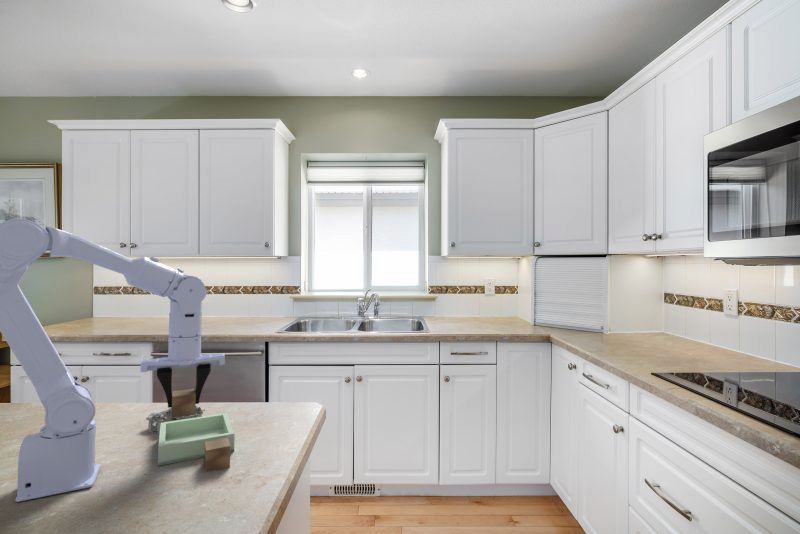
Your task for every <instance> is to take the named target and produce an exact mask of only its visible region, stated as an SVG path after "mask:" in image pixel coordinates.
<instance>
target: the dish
mask: <svg viewBox="0 0 800 534" xmlns="http://www.w3.org/2000/svg"><path fill="white" fill-rule="evenodd" d="M158 438H159V439H158V447H157V448H158V450H157V467H160V466H164V465H171V464H176V463H181V462H186V461H190V460H196V459H201V458H204V455H205V442H207V441H213V440H219V439H224V438H228V440H229V443H230V453H232V452H235V431H234V428H233V425H232V423H231V419H230V417H229V413H228V412H225V413H224V412H222V413H219V414H218V413H217V414H211V415H210V414H209V415H204V416H202V417H196V418H190V419H183V420H176V421H170V422H163V423H161V425H160V434H159V437H158Z"/></svg>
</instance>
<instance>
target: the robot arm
mask: <svg viewBox="0 0 800 534" xmlns="http://www.w3.org/2000/svg"><path fill="white" fill-rule="evenodd" d="M46 251H48V252H49V251H50V252H49V258H67V257H69V258H70V257H71V258H75V259H78V260H81V261H84V262H87V263H89V264H92V265H94V266H98V267H100V268H103V269H107V270H108V271H113V272H115V273H118V274H122V275H123V276H124V278H125V280H126V283H127V285H129V286H132V287H134V288H136V289H140V290H143V291H145V292H148V293H151V294H152V295H157V296H158V297H161V298H166V297H167V298H168V299H169V301H170V302H169V304H170V305H169V315H168V316H169V317H168V318H169V319H168V345H167V346H168V348H167V349H168V351H167V353H168V354H167V355H168V356H167V357H165V356H164V357H159V358H157V357H156V358H152V359H150V358H149V359H141V361H140V373H147V372H152V371H156V377H157V378H158V381H159V382H160V384H161V386H162V389H163V391H164V394H165V397H166V402H167V408H168V409H170V408H172V391H173V389H172V388H173V387H172V386H173V385H172V383H173V369H185V368H194V367H195V369H196V370H195V371H196V373H195V380H196V381H195V388H194V389H195V392H196V403H195V405H197V404H198V405H199V403H200V398H201V394H202V391H203V388H204V385H205V383H206V381H207V379H208V377H209V376H210V374H211V370H212V368H211V366H217V365H219V366H223V365H224V366H225V363H226V355H225V353H211V354H208V353H206V354H202V326H203V325H202V321H203V317H202V316H203V312H202V310H203V309H202V302H203V301H204V299H205V298H206V296H207V294H208V293H207V292H208V290H207V289H206V286H205V283H204V282H203V281H202V280H201V278H199V277H197V276H194V275H189V274H185V273H184V272H185V270H183V269H181V268H177V269H175V268H173V267H170V266H168V265H165V264H164V263H160V262H159V261H160V259H159V258H157V257H154V256H150V257H147V256H141V257H138V258H133V259H132V258H130V257H127V256H125V255H123V254H121V253H118V252H116V251H113V250H111V249H109V248H108V247H104V246H103V245H100V244H97V243H95V242H94V241H91V240H88V239H87V238H84V237H82V236H79V235H77V234H76V233H75V234H74V233H71V232H68V231H65V230H61V229H59V228H56V227H52V226H48V225H45V226H44V227H43V226H42V225H41V224H39V223H37V222H36V221H33V220H29V219H25V218H12V219H8V220H5V221H2V222H1V223H0V333H1V335H2V338H4V340H5V341H6V343H7V345H8V347H9V348H10V350H11V352H12V353H13V354H14V356H15V357H16V360H17V362H19V364H20V366H21V368H22V370H24V372H25V374H26V375H27V377H28V379H29V380H30V382H31V383H32V385H33V387H34V389H35V391H36V394H37V396H38V398H39V401H40V403H41V404H42V406H43V409H44V411H45V412H44V426H43V427H41V428H40V431H39V432H37V433H36V432H35V433H32V434H28V435H25V436H24V437H23V440H22V442H21V444H20V447H19V448H20V449H19V453H18V461H17V462H18V463H17V464H18V465H17V486H16V488H17V490H16V491H17V492H16V497H15V502H18V503H19V502H24V501H28V500H33V499H40V498H43V497H48V496H53V495H58V494H64V493H68V492H73V491H77V490H82V489H83V490H84V489H88V488H92V487H93V486H94V484H95V482H96V479H97V476H98V474H99V471H100V468H101V463H95V462H96V431H97V430H96V429H97V420H95V419H94V418H95V416H96V411H97V410H96V409H97V408H96V405H95V403H94V401H93V400H92V395H91V392H90V389H89V388H88V387H86V385H83V384H81V383H80V382H78V381H77V380H76V379H75V378H74V376H73V374H72V373H71V371H70V370H69V369H68V367H67V366H66V364H65V362H64V360H63V358H61V355H60V353H59V352H58V351H57V348H56V347H55V345H54V344H53V342H52V340H51V339H50V336H49V335H48V333H47V331H45V330H46V329H44V327H43V325H42V324H41V321H40V320H39V318H38V317H37V315H36V312H35V311H34V309H33V308H32V306H31V304H30V302H29V301H28V299H27V297H26V296H25V294H24V293H23V291H22V289H21V287H20V285H19V284H20V282H21V280H22V279H23V278H24V276H25V274H26V272H27V271H28V269H29V267H30V266H31V265H32V264H33V263H34V262H36V261H37V260H38V259H39V258H41V256H43V255H44V254H45V253H46Z"/></svg>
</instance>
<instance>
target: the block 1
mask: <svg viewBox="0 0 800 534" xmlns="http://www.w3.org/2000/svg"><path fill="white" fill-rule="evenodd" d="M195 389H196V388H189V389H180V390H172V407H171V408H172V418H174V417H181V416H188V415H195V406H196V404H195V403H196V392H195Z"/></svg>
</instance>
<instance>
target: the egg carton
mask: <svg viewBox="0 0 800 534" xmlns="http://www.w3.org/2000/svg"><path fill="white" fill-rule="evenodd" d="M204 412H206V410H205V408H204V409H202V408H201V407H200V406H199V407H198V406H197V405H195V415H188V416H181V417H174V418H172V407H170V408H168V409H166V410H162V411H160V412H153V413H150V414H149V415H148V416H147V417H146V419H145V421H148V428H147V429H148V432H150V433H151V432H157V434H158V435H160V425H161V423H163V422H170V421H176V420H183V419H190V418H196V417H203V416H202V415H203V414H204Z"/></svg>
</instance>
